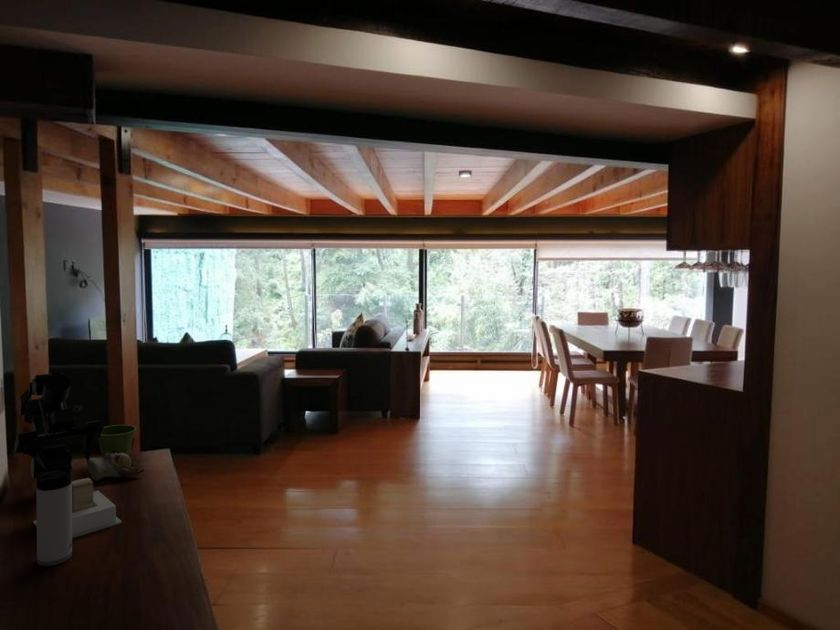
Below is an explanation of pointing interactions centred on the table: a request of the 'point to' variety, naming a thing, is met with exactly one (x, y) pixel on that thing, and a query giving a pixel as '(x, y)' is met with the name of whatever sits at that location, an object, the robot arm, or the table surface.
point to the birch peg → (82, 494)
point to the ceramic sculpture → (112, 466)
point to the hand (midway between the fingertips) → (67, 463)
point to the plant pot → (116, 439)
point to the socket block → (94, 516)
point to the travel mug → (54, 515)
